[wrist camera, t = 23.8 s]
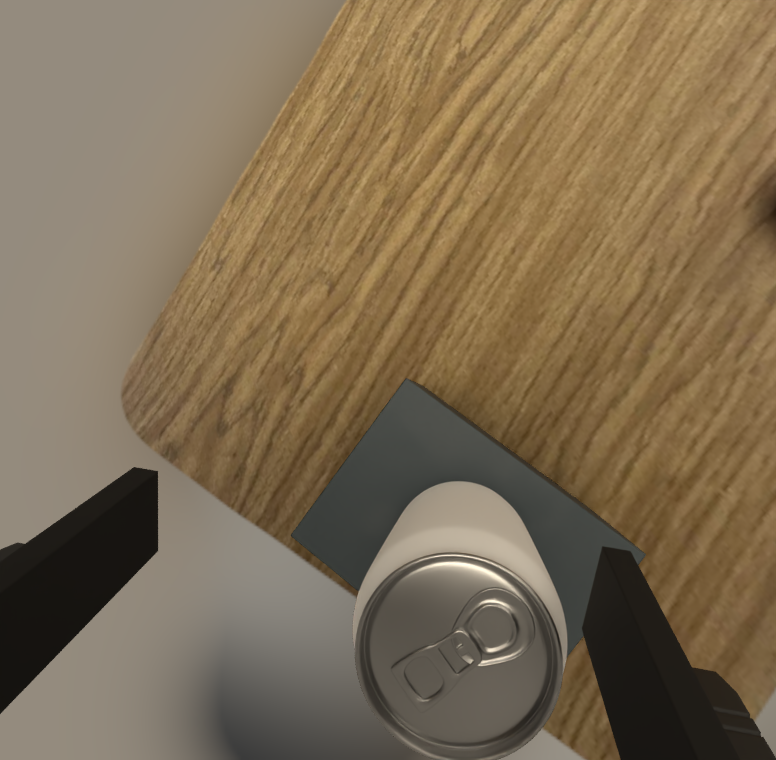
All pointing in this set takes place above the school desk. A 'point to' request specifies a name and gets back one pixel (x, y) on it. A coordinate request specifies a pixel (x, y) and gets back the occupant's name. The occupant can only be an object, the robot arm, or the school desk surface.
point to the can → (460, 628)
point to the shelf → (446, 464)
